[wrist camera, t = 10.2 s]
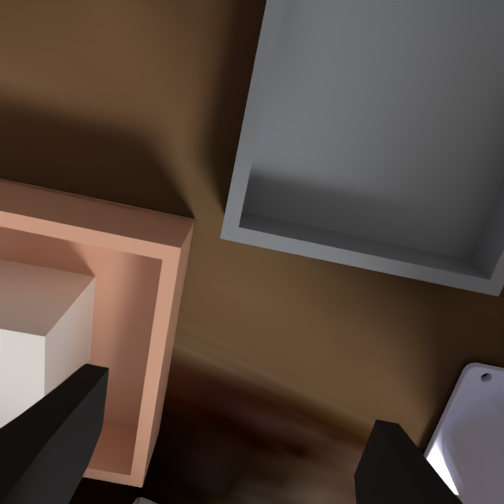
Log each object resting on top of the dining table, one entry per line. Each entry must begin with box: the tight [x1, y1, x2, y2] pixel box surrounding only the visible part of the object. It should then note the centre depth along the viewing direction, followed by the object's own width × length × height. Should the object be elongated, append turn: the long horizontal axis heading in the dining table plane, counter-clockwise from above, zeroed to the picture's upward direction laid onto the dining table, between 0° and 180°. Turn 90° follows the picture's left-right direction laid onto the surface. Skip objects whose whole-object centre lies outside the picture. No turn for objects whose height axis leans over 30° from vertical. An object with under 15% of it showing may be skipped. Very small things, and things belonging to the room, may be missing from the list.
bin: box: [0, 178, 195, 487], centre depth 20 cm, size 12×12×4 cm
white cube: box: [0, 259, 96, 428], centre depth 19 cm, size 4×4×5 cm
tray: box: [220, 0, 504, 296], centre depth 17 cm, size 11×11×2 cm
